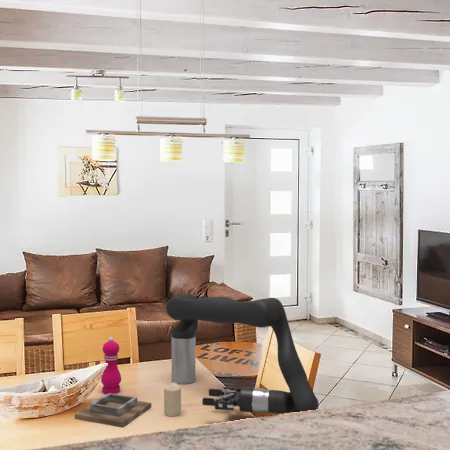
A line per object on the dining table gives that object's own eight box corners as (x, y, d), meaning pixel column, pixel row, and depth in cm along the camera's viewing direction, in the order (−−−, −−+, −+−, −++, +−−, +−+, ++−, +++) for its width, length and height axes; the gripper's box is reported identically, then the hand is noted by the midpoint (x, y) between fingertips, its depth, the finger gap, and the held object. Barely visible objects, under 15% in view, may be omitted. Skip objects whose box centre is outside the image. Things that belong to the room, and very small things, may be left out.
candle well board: (106, 399, 205) (105, 388, 205) (151, 407, 198) (151, 395, 198) (74, 418, 188) (74, 406, 188) (123, 427, 182) (123, 414, 181)
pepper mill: (97, 393, 211) (96, 338, 210) (108, 386, 218) (108, 333, 217) (114, 395, 209) (113, 340, 207) (125, 389, 215) (124, 335, 214)
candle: (178, 417, 190) (178, 387, 189) (162, 415, 191) (161, 385, 190) (182, 410, 195) (182, 381, 194) (167, 409, 196) (167, 380, 196)
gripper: (258, 381, 194) (210, 378, 197) (251, 396, 180) (200, 392, 183) (258, 403, 194) (210, 400, 197) (251, 420, 180) (200, 416, 183)
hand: (205, 396), depth 190 cm, fingers open, 8 cm apart
